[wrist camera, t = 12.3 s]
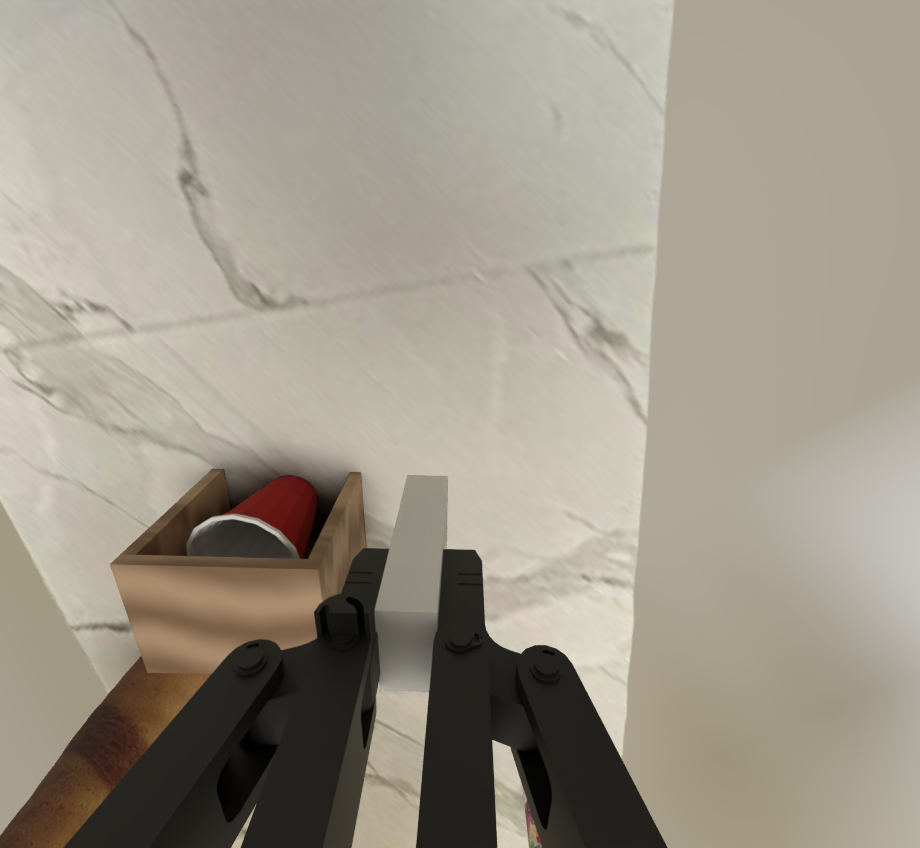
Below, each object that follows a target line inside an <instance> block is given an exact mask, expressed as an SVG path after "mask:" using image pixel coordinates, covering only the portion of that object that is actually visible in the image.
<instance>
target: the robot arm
mask: <svg viewBox="0 0 920 848" xmlns="http://www.w3.org/2000/svg"><path fill="white" fill-rule="evenodd" d="M447 500H448V476H417V475H407V479H406V483H405V487H404V491H403V495H402V500H401V504H400V508H399V512H398V516H397V520H396V524H395V528H394V532H393V536H392V541H391V545H390V549H376V548H363V549H362V550H361V551H360V552H359V553H358V554H357V555H356V556H355V557H354V558H353V560H352V563H351V566H350V569H349V573H348V575H347V577H346V580H345V584H344V586H343V589H342V592H341V594H336V595H334V596H331V597H329V598H327V599H326V600H324V601H323V602H322V603H320V604H319V605H318V607H317V608H316V610H315V611H314V618H315V625H316V632H317V638H316V639H314V640H313V641H311V642H309V643H306V644H303V645H300V646H296V647H292V648H288V649H284V650H281V649H280V648H279V646H278V644H277V643H275V642H273V641H271V640H266V639H257V640H253V641H249V642H246V643H244V644H242V645H240V646H239V647H237V648H235V649H234V650H233V651H232V652H231V653H230V654H229V655H228V656H227V657H226V658H225V659H224V660H223V661H222V662H221V664H220V665H219V666H218V667H217V668H216V669H215V671H214V672H213V673H212V674H211V675H210V676H209V678H208V679H207V680H206V681H205V682H204V683H203V685H202V686H201V687H200V688H199V689H198V690H197V692H196V693H195V694H194V695H193V696H192V698H191V699H190V700H189V701H188V702H187V703H186V705H185V706H184V707H183V708H182V709H181V710H180V712H179V713H178V714H177V715H176V716H175V717H174V719H173V720H172V721H171V722H170V723H169V724H168V726H167V727H166V728H165V729H164V730H163V731H162V733H161V734H160V735H159V736H158V737H157V739H156V740H155V741H154V742H153V743H152V744H151V746H150V747H149V748H148V749H147V750H146V751H145V753H144V754H143V755H142V756H141V757H140V758H139V760H138V761H137V762H136V763H135V764H134V765H133V767H132V768H131V769H130V770H129V771H128V772H127V774H126V775H125V776H124V777H123V778H122V779H121V781H120V782H119V783H118V784H117V785H116V787H115V788H114V789H113V790H112V791H111V792H110V794H109V795H108V796H107V797H106V798H105V799H104V801H103V802H102V803H101V804H100V805H99V806H98V808H97V809H96V810H95V811H94V812H93V813H92V815H91V816H90V817H89V818H88V819H87V820H86V822H85V823H84V824H83V825H82V826H81V828H80V829H79V830H78V831H77V832H76V833H75V835H74V836H73V837H72V838H71V839H70V840H69V842H68V843H67V844H66V845H65V846H64V847H63V848H231V846H232V845H233V843H234V841H235V840H236V838H237V836H238V834H239V833H240V831H241V829H242V828H243V826H244V824H245V822H246V821H247V819H248V817H249V815H250V814H251V812H252V810H253V809H254V807H255V805H256V807H255V810H254V813H253V815H252V818H251V821H250V824H249V826H248V829H247V832H246V835H245V837H244V840H243V843H242V845H241V848H351V847H352V841H353V836H354V830H355V825H356V820H357V814H358V809H359V803H360V798H361V793H362V787H363V782H364V776H365V771H366V766H367V760H368V755H369V749H370V744H371V739H372V733H373V728H374V722H375V717H376V693H377V688H378V683H379V686H380V691H416V692H429V701H428V713H427V725H426V737H425V748H424V760H423V772H422V784H421V796H420V808H419V820H418V832H417V843H416V848H497V832H496V811H495V790H494V769H493V748H492V740H495V741H497V742H500V743H502V744H505V745H507V746H510V747H511V751H512V754H513V757H514V760H515V763H516V767H517V770H518V773H519V776H520V779H521V782H522V786H523V789H524V792H525V795H526V798H527V801H528V805H529V808H530V811H531V814H532V817H533V820H534V824H535V827H536V830H537V833H538V836H539V840H540V843H541V846H542V848H667V846H666V844H665V842H664V840H663V838H662V836H661V834H660V832H659V830H658V828H657V827H656V825H655V823H654V821H653V819H652V817H651V815H650V813H649V811H648V809H647V807H646V805H645V803H644V801H643V800H642V798H641V796H640V794H639V792H638V790H637V788H636V786H635V784H634V782H633V780H632V778H631V776H630V775H629V773H628V771H627V769H626V767H625V765H624V763H623V761H622V759H621V757H620V755H619V753H618V751H617V749H616V747H615V746H614V744H613V742H612V740H611V738H610V736H609V734H608V732H607V730H606V728H605V726H604V724H603V722H602V720H601V719H600V717H599V715H598V713H597V711H596V709H595V707H594V705H593V703H592V701H591V699H590V697H589V695H588V693H587V692H586V690H585V688H584V686H583V684H582V682H581V680H580V678H579V676H578V674H577V672H576V670H575V668H574V666H573V665H572V663H571V662H570V660H569V659H568V658H567V656H566V655H565V654H563V653H562V652H560V651H559V650H557V649H556V648H552V647H549V646H546V645H535V646H532V647H530V648H527V649H525V650H524V651H523V652H522V653H521V654H520V653H517V652H514V651H511V650H508V649H506V648H503V647H501V646H500V645H498V644H497V643H495V642H494V641H493V640H492V639H491V637H490V636H489V634H488V633H487V631H486V627H485V616H484V595H483V576H482V574H483V573H482V560H481V559H480V557H479V556H478V554H477V553H476V551H475V550H457V549H446V546H447ZM256 803H257V804H256Z"/></svg>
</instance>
